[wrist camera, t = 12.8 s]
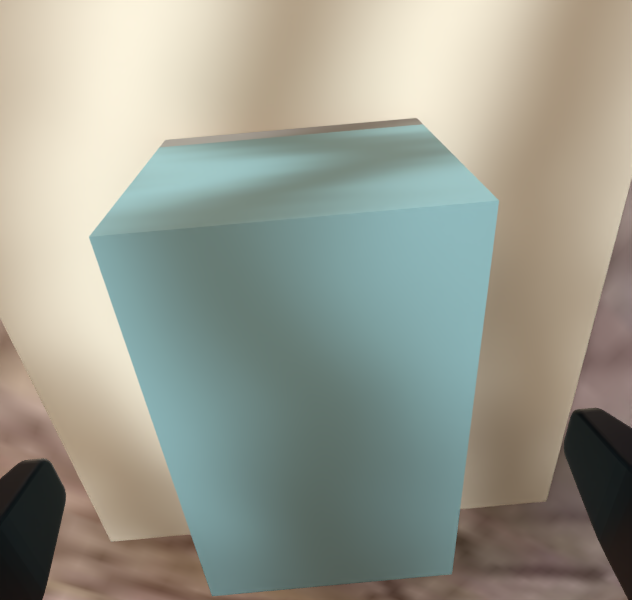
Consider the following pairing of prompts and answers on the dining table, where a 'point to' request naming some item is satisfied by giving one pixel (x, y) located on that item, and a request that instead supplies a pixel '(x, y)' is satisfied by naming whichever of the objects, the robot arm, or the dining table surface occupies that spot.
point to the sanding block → (307, 344)
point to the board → (301, 112)
